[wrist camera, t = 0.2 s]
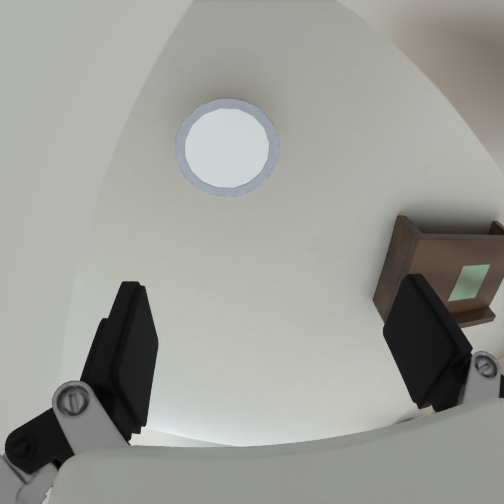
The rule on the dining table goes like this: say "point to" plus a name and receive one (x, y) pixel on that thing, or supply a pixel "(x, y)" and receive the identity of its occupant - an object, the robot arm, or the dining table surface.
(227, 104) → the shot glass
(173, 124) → the dining table surface
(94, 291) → the dining table surface
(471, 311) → the shelf
